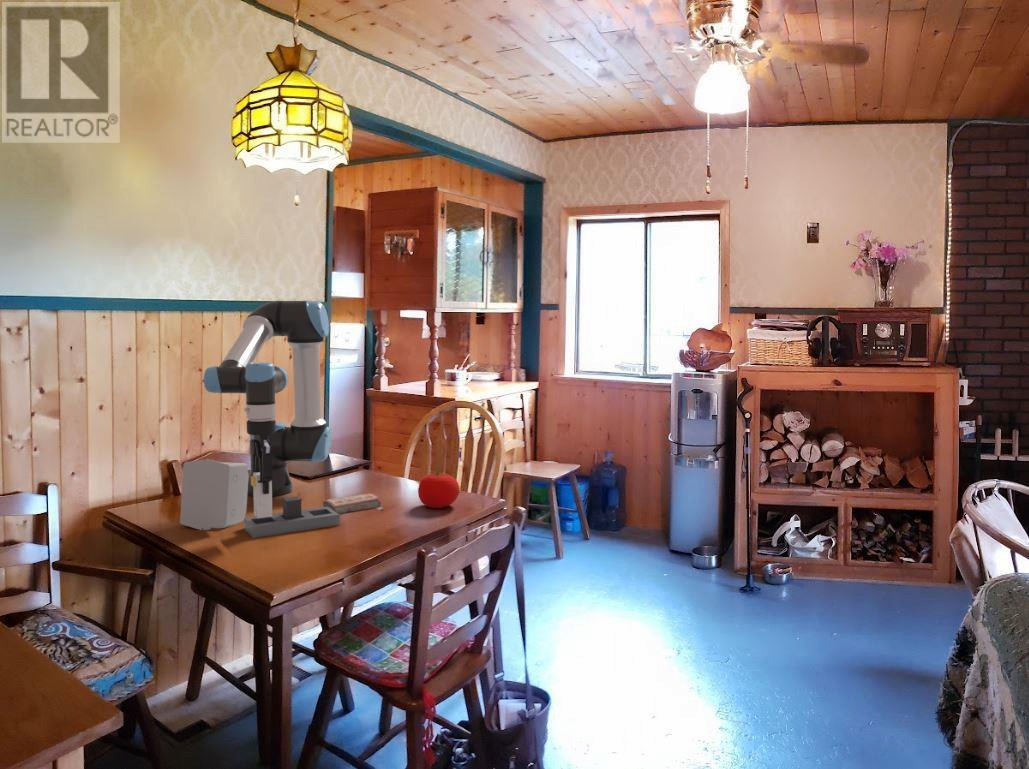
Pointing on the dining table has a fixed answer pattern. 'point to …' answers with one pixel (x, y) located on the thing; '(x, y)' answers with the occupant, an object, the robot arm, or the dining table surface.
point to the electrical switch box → (213, 494)
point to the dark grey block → (291, 508)
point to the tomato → (438, 490)
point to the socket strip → (291, 522)
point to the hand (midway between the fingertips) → (262, 502)
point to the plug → (259, 510)
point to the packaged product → (353, 503)
